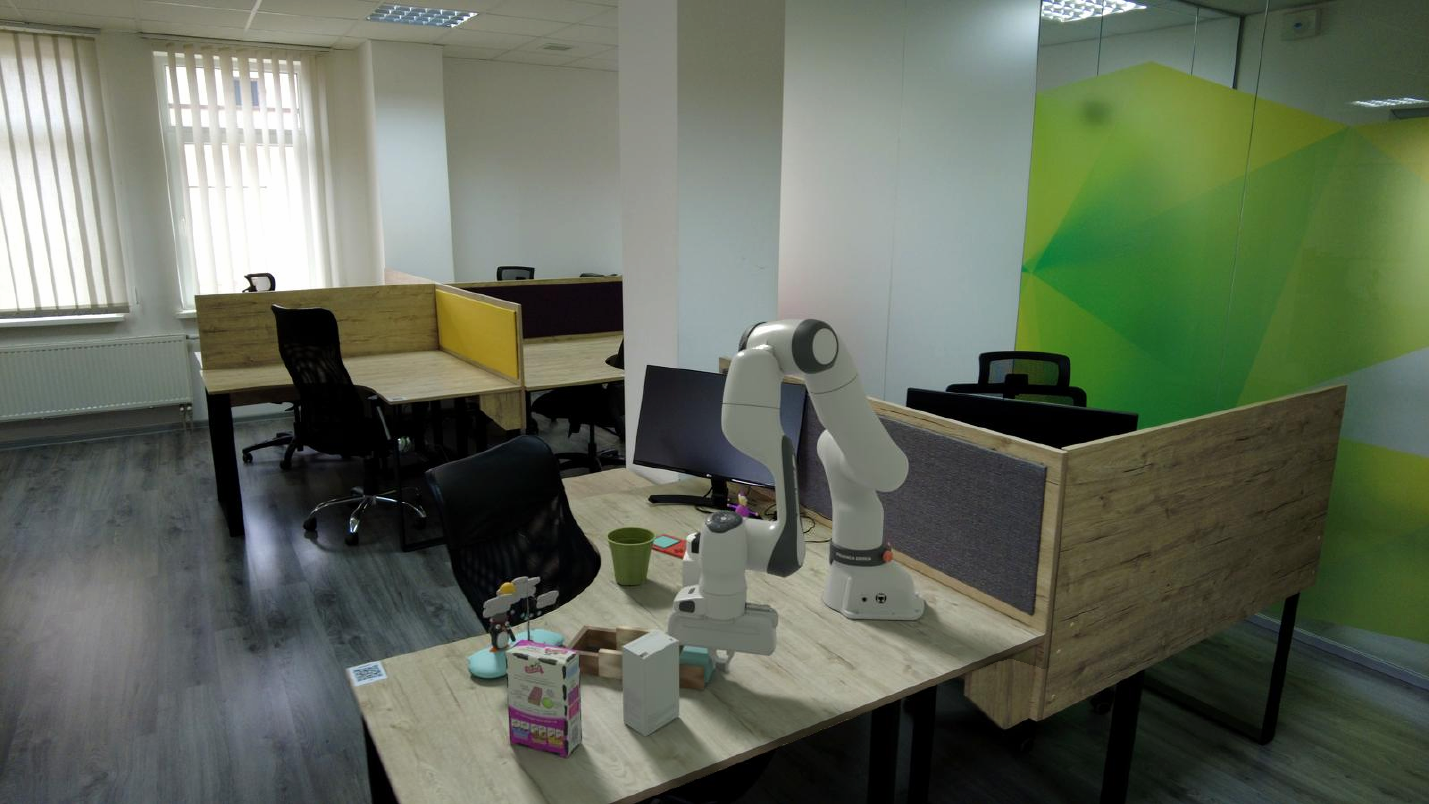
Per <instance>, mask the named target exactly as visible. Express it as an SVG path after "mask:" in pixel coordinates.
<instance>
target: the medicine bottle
mask: <svg viewBox="0 0 1429 804" xmlns="http://www.w3.org/2000/svg"><path fill="white" fill-rule="evenodd" d="M700 536H701V532H694V533H691V534H688V536H686V541H687V550H686V552H685V555H684V558H683V559H682V562H681V563H682V568H681V571H682V573H681V574H682V576H681V577H682V578H681V579H682V587H681V589H682V588H684V587H688V586H693V585H698V584H699V579H700V576H701V570H700V566H699V544H700Z"/></svg>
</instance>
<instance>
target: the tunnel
mask: <svg viewBox="0 0 1429 804" xmlns="http://www.w3.org/2000/svg"><path fill="white" fill-rule="evenodd" d="M654 630H655V629H653V628H645V627H637V626H630V625H629V626H628V625H620V624H618V625H617V627H616V628H607V627H600V626H593V625H592V626H591V625H583V626H582V628H581V629H580V630H579V631H578V633H577V634H576V635H575V636H574V637H573V638H572V640H571V641H570V642H569V643H568V645H567V646H566V647H565V648H567V649H572V650H577V651H579V657H580V675H588V676H595V677H602V678H610V679H617V680H623V667H622V646H624V645H626V644H628V643H630V642H632V641H634V640H636V639H638V638H640V637H642V636H644V635H646V634H648V633H650V632H652V631H654ZM658 630H659V631H661V632H663V633H665V634H667V632H668V630H663V629H662V630H661V629H658ZM683 648H684V645H679V656H680V654H681V652H682V650H683ZM716 653H717V649H716ZM679 688H682V689H689V690H696V691H697V690H698V691H704V689H705V683H704V667H700V666H692V665H684V664H679Z"/></svg>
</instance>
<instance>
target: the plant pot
mask: <svg viewBox="0 0 1429 804" xmlns="http://www.w3.org/2000/svg"><path fill="white" fill-rule="evenodd" d="M656 537H657V533H656V532H655V531H653V530H652V529H650V528H646V527H641V526H624V527H617V528H614V529H611V530H609V531H608V532H606V534H605V539H606V541H608V546H609V547H608V548H609V549H610V554H611V558H612V559H611V560H612V565H613V572H614V577H615V581H616V582H617V583H618V584H619V585H622V586H629V585H631V586H638V585H641V584H644V583H645V582H646V581H647V576H648V571H649V565H650V559H651V554H652V550H653V549H652V547H653V543H654V540H655V539H656Z"/></svg>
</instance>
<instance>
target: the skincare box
mask: <svg viewBox="0 0 1429 804" xmlns="http://www.w3.org/2000/svg"><path fill="white" fill-rule="evenodd" d="M659 630H660V629H657V628H656V629H654V631H652V632H650V633H648V634H646V635H644V636H642V637H640V638H638V639H636V640H634V641H632V642H630V643H628V644H626V645H624V646H622V667H623V679H622V704H623V705H622V706H623V707H622V709H623V712H622V713H623V723H624V724H625V725H627V726H628V727H630V728H632V729H633V730H635V731H636V732H638V733H639V734H640V735H642V736H643V737H647V736H649V735H650V734H653V733H655V731H657V730H658V729H660V728H662V727H664V726H665V725H667V724H669V723H671V722H672V721H673V720H675V719H677V718H679V717H680V687H679V640H676V639H675V638H673V637H671V636H669V635H667V634H665V633H663V632H661V631H659Z"/></svg>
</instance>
